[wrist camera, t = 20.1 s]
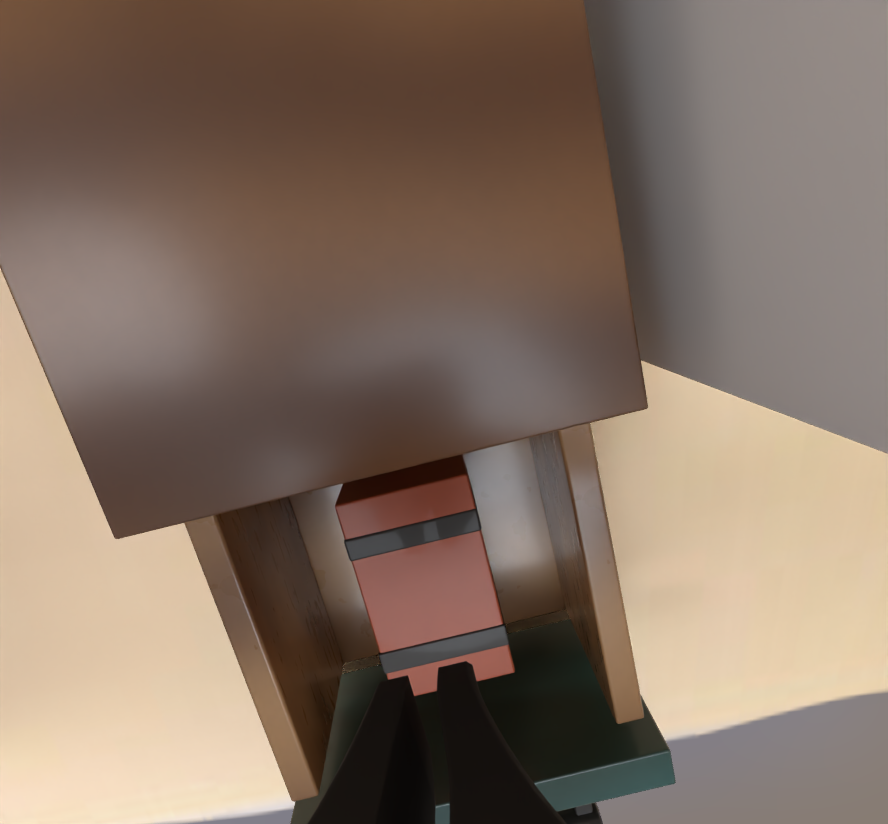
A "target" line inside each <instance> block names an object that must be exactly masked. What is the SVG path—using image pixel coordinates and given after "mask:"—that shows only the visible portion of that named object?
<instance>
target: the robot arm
mask: <svg viewBox="0 0 888 824" xmlns="http://www.w3.org/2000/svg"><path fill="white" fill-rule="evenodd" d="M437 697H438V704H439V711H440V718H441V725H442V732H443V738H444V745H445V752H446V759H447V766H448V776H449V795H450V824H567V823H566V822H565V821H564V820H563V819H562V817H561V816H560V815H559V814H558V813H557V811H556V810H555V809H554V808H553V807H552V805H551V804H550V803H549V802H548V801H547V799H546V798H545V797H544V795H543V794H542V793H541V791H540V790H539V789H538V788H537V786H536V785H535V784H534V782H533V781H532V780H531V778H530V777H529V775H528V774H527V773H526V771H525V770H524V768H523V767H522V766H521V764H520V763H519V761H518V760H517V758H516V757H515V755H514V753H513V752H512V750H511V749H510V747H509V746H508V744H507V743H506V741H505V739H504V738H503V736H502V734H501V732H500V731H499V729H498V727H497V725H496V724H495V722H494V720H493V718H492V716H491V715H490V713H489V711H488V709H487V707H486V705H485V702H484V700H483V698H482V696H481V693H480V691H479V688H478V684H477V680H476V676H475V673H474V669H473V665H472V664H470V663H469V662H467V661H464V662H460V663H456V664H451V665H447V666H443V667H439V668H438V676H437ZM435 808H436V803H435V791H434V778H433V767H432V756H431V750H430V747H429V743H428V740H427V737H426V733H425V730H424V727H423V723H422V720H421V717H420V714H419V710H418V707H417V704H416V700H415V697H414V694H413V690H412V687H411V684H410V681H409V677H408V675H406V676H402V677H398V678H393V679H389V680H385V681H381V682H380V683H379V685H378V686H377V688H376V690H375V692H374V695H373V697H372V699H371V702H370V704H369V706H368V708H367V711H366V713H365V715H364V717H363V720H362V722H361V724H360V726H359V728H358V730H357V733H356V735H355V737H354V739H353V741H352V743H351V745H350V747H349V749H348V751H347V753H346V755H345V757H344V759H343V761H342V763H341V765H340V767H339V769H338V771H337V773H336V775H335V776H334V778H333V780H332V782H331V783H330V785H329V787H328V789H327V791H326V792H325V794H324V796H323V798H322V800H321V801H320V803H319V805H318V807H317V808H316V810H315V812H314V813H313V815H312V817H311V818H310V820H309V822H308V823H307V824H435Z"/></svg>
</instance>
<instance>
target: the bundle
mask: <svg viewBox="0 0 888 824" xmlns="http://www.w3.org/2000/svg"><path fill="white" fill-rule="evenodd" d="M335 510H336V513H337V516H338V519H339V523H340V526H341V529H342V532H343V536H344V539H345V540H344V544H345V547H346V550H347V554H348V557H349V559H350V561H351V562H352V565H353V568H354V571H355V575H356V578H357V581H358V584H359V588H360V591H361V594H362V597H363V601H364V604H365V607H366V610H367V614H368V617H369V620H370V623H371V627H372V630H373V633H374V636H375V640H376V643H377V646H378V649H379V658H380V662H381V665H382V668H383V671H384V673H385V674H386V675H387V679H388V680H389V679H393V678H398V677H402V676H406V675H408V677H409V681H410V684H411V687H412V690H413V694H414V696H418V695H422V694H426V693H430V692H435V691H437V676H438V668H439V667H443V666H447V665H451V664H456V663H460V662H464V661H467V662H469V663H470V664H472V665H473V669H474V673H475V676H476V680H477V681H481V680H485V679H490V678H494V677H498V676H502V675H506V674H511V673H514V672H515V668H514V664H513V659H512V655H511V651H510V647H509V639H508V634H507V630H506V626H505V622H504V618H503V614H502V610H501V606H500V602H499V598H498V594H497V590H496V586H495V582H494V578H493V574H492V570H491V566H490V564H489V560H488V556H487V552H486V548H485V543H484V539H483V535H482V531H481V528H482V526H481V522H480V518H479V514H478V510H477V506H476V502H475V498H474V494H473V490H472V486H471V483H470V479H469V475H468V471H467V468H466V465H465V461H464V457H463V454H461V455H457V456H453V457H449V458H445V459H441V460H437V461H433V462H428V463H424V464H420V465H416V466H412V467H408V468H404V469H400V470H396V471H392V472H388V473H384V474H380V475H376V476H372V477H368V478H363V479H359V480H355V481H351V482H347V483H343V485H342V487H341V490H340V493H339V496H338V498H337V501H336V504H335Z"/></svg>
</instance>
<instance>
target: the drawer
mask: <svg viewBox="0 0 888 824" xmlns="http://www.w3.org/2000/svg"><path fill="white" fill-rule="evenodd" d="M463 457H464V461H465V465H466V468H467V471H468V475H469V479H470V483H471V486H472V490H473V494H474V498H475V502H476V506H477V510H478V514H479V518H480V522H481V526H482V528H481V531H482V535H483V539H484V543H485V548H486V552H487V556H488V560H489V564H490V566H491V570H492V574H493V578H494V582H495V586H496V590H497V594H498V598H499V602H500V606H501V610H502V614H503V618H504V622H505V624H507V623H511V622H515V621H519V620H524V619H528V618H532V617H536V616H540V615H544V614H548V613H552V612H557V611H561V610H565V609H566V611H567V613H568V615H569V617H570V619H568V620H564V621H559V622H555V623H551V624H547V625H543V626H539V627H535V628H530V629H526V630H522V631H518V632H514V633H510V634H508V639H509V647H510V651H511V655H512V659H513V664H514V668H515V672H514V673H511V674H506V675H502V676H498V677H494V678H490V679H485V680H481V681H477V684H478V688H479V691H480V693H481V696H482V698H483V700H484V702H485V705H486V707H487V709H488V711H489V713H490V715H491V716H492V718H493V720H494V722H495V724H496V725H497V727H498V729H499V731H500V732H501V734H502V736H503V738H504V739H505V741H506V743H507V744H508V746H509V747H510V749H511V750H512V752H513V753H514V755H515V757H516V758H517V760H518V761H519V763H520V764H521V766H522V767H523V768H524V770H525V771H526V773H527V774H528V775H529V777H530V778H531V780H532V781H533V782H534V784H535V785H536V786H537V788H538V789H539V790H540V791H541V793H542V794H543V795H544V797H545V798H546V799H547V801H548V802H549V803H550V804H551V805H552V807H553V808H554V809H555V810H556V811H557V813H558V814H559V815H560V816H561V817H562V819H563V820H564V821H565V822H566V823H567V824H603V823H602V819H601V816H600V812H599V809H598V806H597V803H596V802H599V801H604V800H608V799H612V798H616V797H620V796H624V795H628V794H632V793H637V792H641V791H646V790H650V789H654V788H658V787H663V786H666V785H671V784H674V783H675V775H674V769H673V764H672V758H671V753H670V749H669V747H668V745H667V743H666V741H665V740H664V738H663V736H662V734H661V732H660V730H659V728H658V726H657V725H656V723H655V721H654V719H653V717H652V715H651V713H650V711H649V710H648V708H647V706H646V704H645V702H644V700H643V698H642V696H641V694H640V690H639V685H638V679H637V674H636V669H635V663H634V658H633V653H632V647H631V642H630V636H629V631H628V626H627V620H626V615H625V609H624V604H623V599H622V593H621V588H620V583H619V577H618V572H617V566H616V561H615V556H614V550H613V545H612V539H611V534H610V529H609V523H608V518H607V512H606V507H605V502H604V496H603V491H602V486H601V480H600V475H599V469H598V464H597V459H596V453H595V448H594V442H593V437H592V432H591V426H590V423H587V424H583V425H579V426H575V427H571V428H567V429H563V430H559V431H554V432H550V433H546V434H542V435H538V436H534V437H530V438H526V439H522V440H518V441H514V442H510V443H506V444H502V445H498V446H493V447H489V448H485V449H481V450H477V451H473V452H469V453H465V454H463ZM342 485H343V484H339V485H335V486H331V487H327V488H323V489H319V490H315V491H311V492H307V493H302V494H298V495H294V496H290V497H286V498H282V499H278V500H274V501H270V502H266V503H262V504H258V505H254V506H250V507H246V508H242V509H237V510H233V511H229V512H225V513H221V514H217V515H213V516H209V517H205V518H201V519H197V520H193V521H189V522H185V526H186V528H187V531H188V533H189V536H190V539H191V541H192V544H193V546H194V549H195V551H196V554H197V557H198V559H199V562H200V564H201V567H202V570H203V572H204V575H205V577H206V580H207V582H208V585H209V588H210V590H211V593H212V595H213V598H214V601H215V603H216V606H217V608H218V611H219V614H220V616H221V619H222V621H223V624H224V626H225V629H226V632H227V634H228V637H229V639H230V642H231V645H232V647H233V650H234V652H235V655H236V657H237V660H238V663H239V665H240V668H241V670H242V673H243V676H244V678H245V681H246V683H247V686H248V689H249V691H250V694H251V696H252V699H253V701H254V704H255V707H256V709H257V712H258V714H259V717H260V720H261V722H262V725H263V727H264V730H265V732H266V735H267V738H268V740H269V743H270V745H271V748H272V751H273V753H274V756H275V758H276V761H277V764H278V766H279V769H280V771H281V774H282V776H283V779H284V782H285V784H286V787H287V789H288V792H289V795H290V797H291V800H292V801H296V802H295V806H294V810H293V815H292V819H291V824H307V823H308V822H309V820H310V818H311V817H312V815H313V813H314V812H315V810H316V808H317V807H318V805H319V803H320V801H321V800H322V798H323V796H324V794H325V792H326V791H327V789H328V787H329V785H330V783H331V782H332V780H333V778H334V776H335V775H336V773H337V771H338V769H339V767H340V765H341V763H342V761H343V759H344V757H345V755H346V753H347V751H348V749H349V747H350V745H351V743H352V741H353V739H354V737H355V735H356V733H357V730H358V728H359V726H360V724H361V722H362V720H363V717H364V715H365V713H366V711H367V708H368V706H369V704H370V702H371V699H372V697H373V695H374V692H375V690H376V688H377V686H378V685H379V683H380V682H381V681H385V680H388V679H387V675H386V674H385V673H384V671H383V668H382V665H377V666H373V667H369V668H365V669H361V670H357V671H353V672H348V673H344V674H342V670H343V664H344V663H346V662H350V661H354V660H358V659H362V658H366V657H371V656H375V655H379V649H378V646H377V643H376V640H375V636H374V633H373V630H372V627H371V623H370V620H369V617H368V614H367V610H366V607H365V604H364V601H363V597H362V594H361V591H360V588H359V584H358V581H357V578H356V575H355V571H354V568H353V565H352V562H351V561H350V559H349V557H348V554H347V550H346V547H345V544H344V540H345V539H344V536H343V532H342V529H341V526H340V523H339V519H338V516H337V513H336V510H335V504H336V501H337V498H338V496H339V493H340V490H341V487H342ZM414 697H415V700H416V704H417V707H418V710H419V714H420V717H421V720H422V723H423V727H424V730H425V733H426V737H427V740H428V743H429V747H430V750H431V756H432V767H433V778H434V791H435V803H436V808H435V824H450V795H449V776H448V766H447V759H446V752H445V745H444V738H443V732H442V725H441V718H440V711H439V704H438V697H437V691H435V692H430V693H426V694H422V695H418V696H414Z"/></svg>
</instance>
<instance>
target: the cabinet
mask: <svg viewBox="0 0 888 824" xmlns="http://www.w3.org/2000/svg"><path fill="white" fill-rule="evenodd" d="M0 268H1V270H2V273H3V275H4V278H5V280H6V282H7V285H8V287H9V289H10V292H11V294H12V296H13V299H14V301H15V304H16V306H17V308H18V311H19V313H20V315H21V318H22V320H23V322H24V325H25V327H26V330H27V332H28V334H29V337H30V339H31V341H32V344H33V346H34V348H35V351H36V353H37V356H38V358H39V360H40V363H41V365H42V367H43V370H44V372H45V374H46V377H47V379H48V382H49V384H50V386H51V389H52V391H53V393H54V396H55V398H56V401H57V403H58V405H59V408H60V410H61V412H62V415H63V417H64V419H65V422H66V424H67V427H68V429H69V431H70V434H71V436H72V438H73V441H74V443H75V445H76V448H77V450H78V453H79V455H80V457H81V460H82V462H83V464H84V467H85V469H86V471H87V474H88V476H89V479H90V481H91V483H92V486H93V488H94V490H95V493H96V495H97V497H98V500H99V502H100V505H101V507H102V509H103V512H104V514H105V516H106V519H107V521H108V523H109V526H110V528H111V531H112V533H113V535H114V538H115V539H120V538H124V537H128V536H132V535H136V534H140V533H144V532H148V531H152V530H156V529H160V528H164V527H168V526H172V525H177V524H181V523H185V522H189V521H193V520H197V519H201V518H205V517H209V516H213V515H217V514H221V513H225V512H229V511H233V510H237V509H242V508H246V507H250V506H254V505H258V504H262V503H266V502H270V501H274V500H278V499H282V498H286V497H290V496H294V495H298V494H302V493H307V492H311V491H315V490H319V489H323V488H327V487H331V486H335V485H339V484H343V483H347V482H351V481H355V480H359V479H363V478H368V477H372V476H376V475H380V474H384V473H388V472H392V471H396V470H400V469H404V468H408V467H412V466H416V465H420V464H424V463H428V462H433V461H437V460H441V459H445V458H449V457H453V456H457V455H461V454H465V453H469V452H473V451H477V450H481V449H485V448H489V447H493V446H498V445H502V444H506V443H510V442H514V441H518V440H522V439H526V438H530V437H534V436H538V435H542V434H546V433H550V432H554V431H559V430H563V429H567V428H571V427H575V426H579V425H583V424H587V423H591V422H595V421H599V420H603V419H607V418H611V417H615V416H619V415H624V414H628V413H632V412H636V411H640V410H644V409H646V408H648V404H647V397H646V391H645V385H644V378H643V372H642V366H641V359H640V353H639V347H638V340H637V334H636V328H635V321H634V315H633V309H632V302H631V296H630V290H629V283H628V277H627V271H626V264H625V258H624V252H623V245H622V239H621V233H620V226H619V220H618V214H617V207H616V201H615V195H614V189H613V182H612V176H611V170H610V163H609V157H608V151H607V144H606V138H605V132H604V125H603V119H602V113H601V106H600V100H599V94H598V87H597V81H596V75H595V68H594V62H593V56H592V49H591V43H590V37H589V30H588V24H587V18H586V11H585V5H584V0H0Z"/></svg>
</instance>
